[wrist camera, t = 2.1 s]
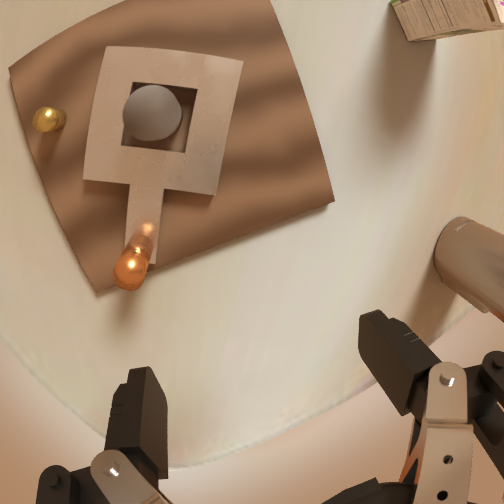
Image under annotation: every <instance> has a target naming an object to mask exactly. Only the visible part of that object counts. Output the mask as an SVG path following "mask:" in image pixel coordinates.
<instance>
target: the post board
mask: <svg viewBox="0 0 504 504" xmlns="http://www.w3.org/2000/svg"><path fill="white" fill-rule="evenodd" d="M106 46H123V47H144V48H157V49H168V50H177V51H186V52H193V53H200V54H207V55H213V56H219V57H224V58H230V59H235V60H240V61H244V62H243V66H242V70H241V75H240V79H239V84H238V88H237V92H236V97H235V102H234V106H233V111H232V116H231V120H230V125H229V130H228V135H227V140H226V145H225V150H224V155H223V160H222V165H221V170H220V176H219V181H218V186H217V192H216V196H215V195H208V194H201V193H194V192H187V191H180V190H172V189H165V191H164V199H163V206H162V214H161V223H160V231H159V241H158V251H157V260H156V263H155V264H151V263H149V265H148V268H147V271H146V272H149V271H151V270H154V269H156V268H159V267H161V266H164V265H166V264H169V263H172V262H174V261H177V260H179V259H182V258H184V257H187V256H190V255H192V254H195V253H197V252H200V251H203V250H205V249H208V248H210V247H213V246H216V245H218V244H221V243H224V242H226V241H229V240H232V239H234V238H237V237H239V236H242V235H245V234H247V233H250V232H253V231H255V230H258V229H261V228H263V227H266V226H269V225H272V224H274V223H277V222H280V221H282V220H285V219H288V218H290V217H293V216H296V215H299V214H301V213H304V212H307V211H310V210H312V209H315V208H318V207H321V206H323V205H326V204H329V203H332V202H334V201H335V199H334V195H333V191H332V187H331V183H330V179H329V175H328V171H327V167H326V164H325V160H324V156H323V153H322V149H321V145H320V142H319V138H318V135H317V131H316V128H315V125H314V121H313V118H312V115H311V112H310V108H309V105H308V102H307V99H306V96H305V93H304V90H303V87H302V84H301V81H300V78H299V75H298V72H297V69H296V66H295V64H294V61H293V58H292V55H291V53H290V50H289V47H288V44H287V42H286V39H285V37H284V34H283V31H282V29H281V26H280V24H279V21H278V19H277V16H276V14H275V11H274V9H273V7H272V4H271V2H270V0H125V1H123V2H121V3H118V4H116V5H114V6H111V7H109V8H107V9H105V10H103V11H101V12H99V13H96V14H94V15H92V16H90V17H88V18H86V19H85V20H83V21H81V22H79V23H77V24H75V25H73V26H71V27H70V28H68V29H66V30H64V31H63V32H61V33H59V34H58V35H56V36H54V37H53V38H51V39H49V40H48V41H46V42H45V43H43V44H42V45H40V46H38V47H37V48H35V49H34V50H32V51H31V52H30V53H28V54H27V55H25V56H24V57H22V58H21V59H20V60H18V61H17V62H16V63H14V64H13V65H11V66H10V67H9V68H8V69H9V73H10V78H11V83H12V87H13V91H14V95H15V99H16V103H17V107H18V110H19V114H20V117H21V121H22V124H23V128H24V131H25V134H26V137H27V140H28V143H29V146H30V149H31V152H32V155H33V158H34V161H35V163H36V166H37V169H38V171H39V174H40V177H41V179H42V182H43V184H44V187H45V189H46V192H47V194H48V196H49V199H50V201H51V204H52V206H53V208H54V210H55V213H56V215H57V217H58V219H59V221H60V224H61V226H62V228H63V230H64V232H65V234H66V236H67V238H68V240H69V242H70V244H71V246H72V248H73V250H74V252H75V254H76V256H77V258H78V260H79V262H80V264H81V266H82V268H83V269H84V271H85V273H86V275H87V277H88V278H89V280H90V282H91V284H92V286H93V287H94V289H95V291H96V292H98V291H101V290H103V289H106V288H108V287H111V286H113V285H116V283H115V281H114V279H113V269H114V267H115V265H116V263H117V261H118V260H119V258H120V256H121V254H122V252H123V250H124V249H125V234H126V220H127V209H128V199H129V190H130V184H124V183H114V182H105V181H95V180H85V179H83V171H84V161H85V152H86V144H87V137H88V130H89V124H90V118H91V112H92V107H93V101H94V96H95V91H96V87H97V82H98V78H99V73H100V69H101V65H102V61H103V57H104V54H105V50H106ZM196 95H197V91H195V90H188V89H181V88H173V87H164V86H158V85H144V84H135V87H134V92H133V93H132V94H131V95H130V96H129V98H128V99H127V101H126V102H125V105H124V108H123V113H122V118H123V123H124V126H125V128H126V135H125V141H124V145H127V146H137V147H146V148H155V149H163V150H171V151H178V152H185V150H186V145H187V139H188V134H189V129H190V124H191V119H192V114H193V109H194V104H195V100H196ZM42 107H50V108H58V109H62V110H64V111H65V113H66V115H67V121H66V124H65V126H64V127H63V129H61V130H60V131H57V132H38V131H36V130H35V128H34V126H33V117H34V115H35V113H36V111H37V110H38V109H40V108H42Z"/></svg>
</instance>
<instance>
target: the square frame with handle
mask: <svg viewBox="0 0 504 504" xmlns="http://www.w3.org/2000/svg"><path fill="white" fill-rule="evenodd" d="M243 62H244V61H240V60H235V59H230V58H224V57H219V56H213V55H207V54H200V53H193V52H186V51H177V50H168V49H157V48H144V47H123V46H106V50H105V54H104V57H103V61H102V65H101V69H100V73H99V78H98V82H97V87H96V91H95V96H94V101H93V107H92V112H91V118H90V124H89V130H88V137H87V144H86V152H85V161H84V171H83V179H85V180H95V181H105V182H114V183H124V184H130V190H129V199H128V209H127V220H126V234H125V249H124V250H123V252H122V254H121V256H120V258H119V260H118V261H117V263H116V265H115V267H114V269H113V279H114V281H115V283H116V284H117V285H118V286H119V287H120V288H122V289H124V290H129V291H130V290H136V289H138V288H139V287H140V286H141V285H142V283H143V281H144V278H145V274H146V271H147V268H148V265H149V263H151V264H155V263H156V260H157V251H158V241H159V231H160V223H161V214H162V206H163V199H164V191H165V189H172V190H180V191H187V192H194V193H201V194H208V195H215V196H216V192H217V186H218V181H219V176H220V170H221V165H222V160H223V155H224V150H225V145H226V140H227V135H228V130H229V125H230V120H231V116H232V111H233V106H234V102H235V97H236V92H237V88H238V84H239V79H240V75H241V70H242V66H243ZM135 84H144V85H158V86H164V87H173V88H181V89H188V90H195V91H197V95H196V100H195V104H194V109H193V114H192V119H191V124H190V129H189V134H188V139H187V145H186V150H185V152H178V151H171V150H163V149H155V148H146V147H137V146H127V145H124V141H125V135H126V128H125V126H124V123H123V118H122V113H123V108H124V105H125V102H126V101H127V99H128V98H129V96H130V95H131V94H132V93H133V92H134V87H135Z"/></svg>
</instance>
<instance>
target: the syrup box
mask: <svg viewBox="0 0 504 504" xmlns="http://www.w3.org/2000/svg"><path fill="white" fill-rule="evenodd" d="M391 4H392V6H393V8H394V10H395V13H396V15H397V17H398V19H399V21H400V23H401V26H402V28H403V30H404V32H405V35H406V37H407V39H408V41H409V42H412V41H420V40H430V39H440V38H446V37H451V36H457V35H462V34H469V33H476V32H483V31H491V30H499V29H504V0H391Z"/></svg>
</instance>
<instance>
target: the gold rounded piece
mask: <svg viewBox="0 0 504 504" xmlns="http://www.w3.org/2000/svg"><path fill="white" fill-rule="evenodd" d="M66 121H67V115H66V113H65V111H64V110H62V109H58V108H50V107H42V108H40V109H38V110H37V111H36V113H35V115H34V117H33V126H34V128H35V130H36V131H38V132H57V131H60V130H61V129H63V127H64V126H65V124H66Z"/></svg>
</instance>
